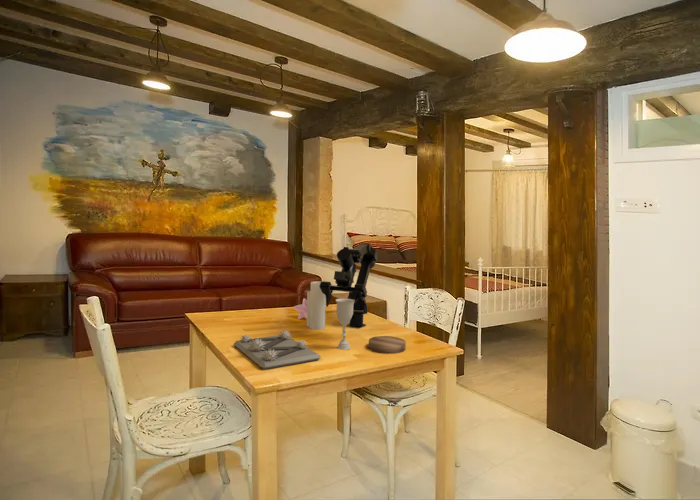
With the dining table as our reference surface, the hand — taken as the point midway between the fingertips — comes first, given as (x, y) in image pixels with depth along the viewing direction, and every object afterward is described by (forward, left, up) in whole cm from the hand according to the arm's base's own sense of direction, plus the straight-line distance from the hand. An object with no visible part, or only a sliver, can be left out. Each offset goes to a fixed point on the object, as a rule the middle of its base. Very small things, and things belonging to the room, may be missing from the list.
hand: (337, 307), depth 172 cm
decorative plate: (+25, -10, -14) cm, 30 cm away
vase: (-13, -20, -14) cm, 28 cm away
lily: (-22, -32, -14) cm, 41 cm away
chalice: (+5, +7, -14) cm, 16 cm away
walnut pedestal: (-5, +20, -14) cm, 24 cm away
